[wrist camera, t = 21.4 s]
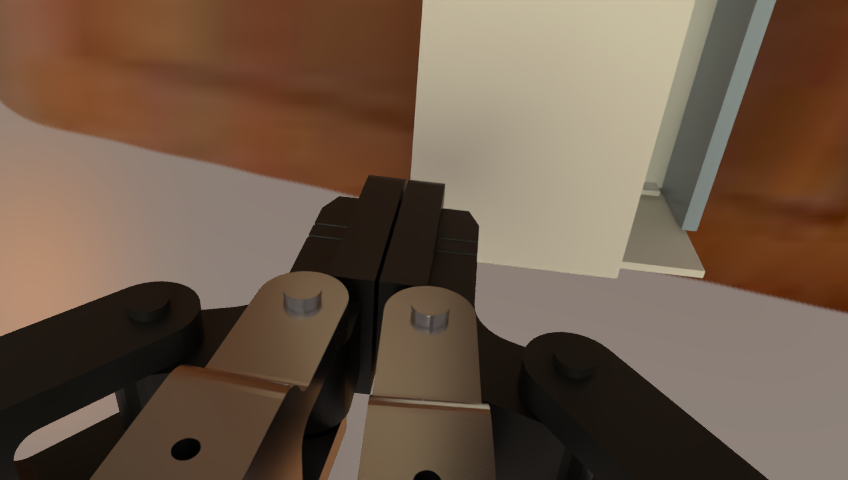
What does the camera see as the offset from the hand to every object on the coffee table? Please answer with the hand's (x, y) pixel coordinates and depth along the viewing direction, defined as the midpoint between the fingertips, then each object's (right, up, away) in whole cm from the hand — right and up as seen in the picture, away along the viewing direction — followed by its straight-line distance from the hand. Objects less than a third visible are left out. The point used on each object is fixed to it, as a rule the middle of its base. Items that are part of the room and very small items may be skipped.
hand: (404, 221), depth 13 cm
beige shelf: (+8, +11, +24) cm, 28 cm away
